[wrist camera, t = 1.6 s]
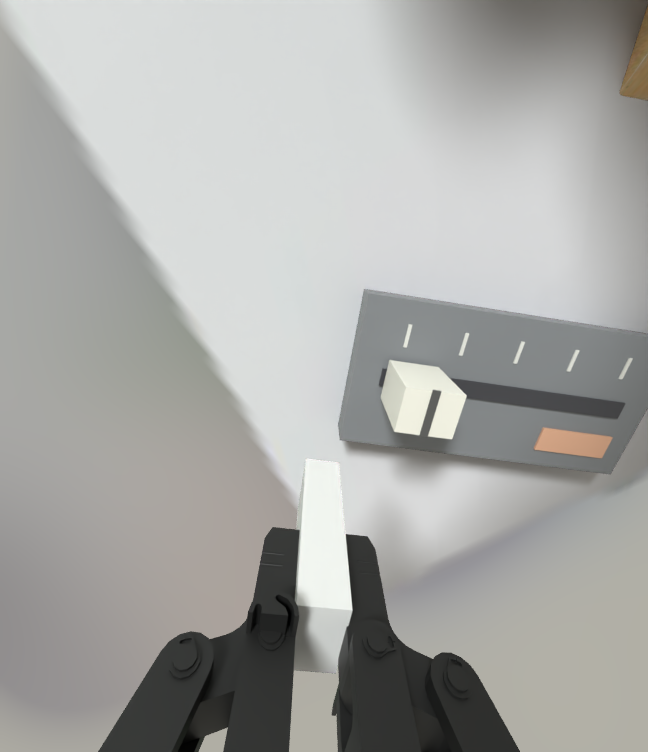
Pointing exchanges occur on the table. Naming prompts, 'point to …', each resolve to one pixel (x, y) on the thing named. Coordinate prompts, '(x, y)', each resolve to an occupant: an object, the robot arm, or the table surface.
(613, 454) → the fader console
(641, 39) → the sandwich container
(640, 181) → the table surface
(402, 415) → the fader knob
